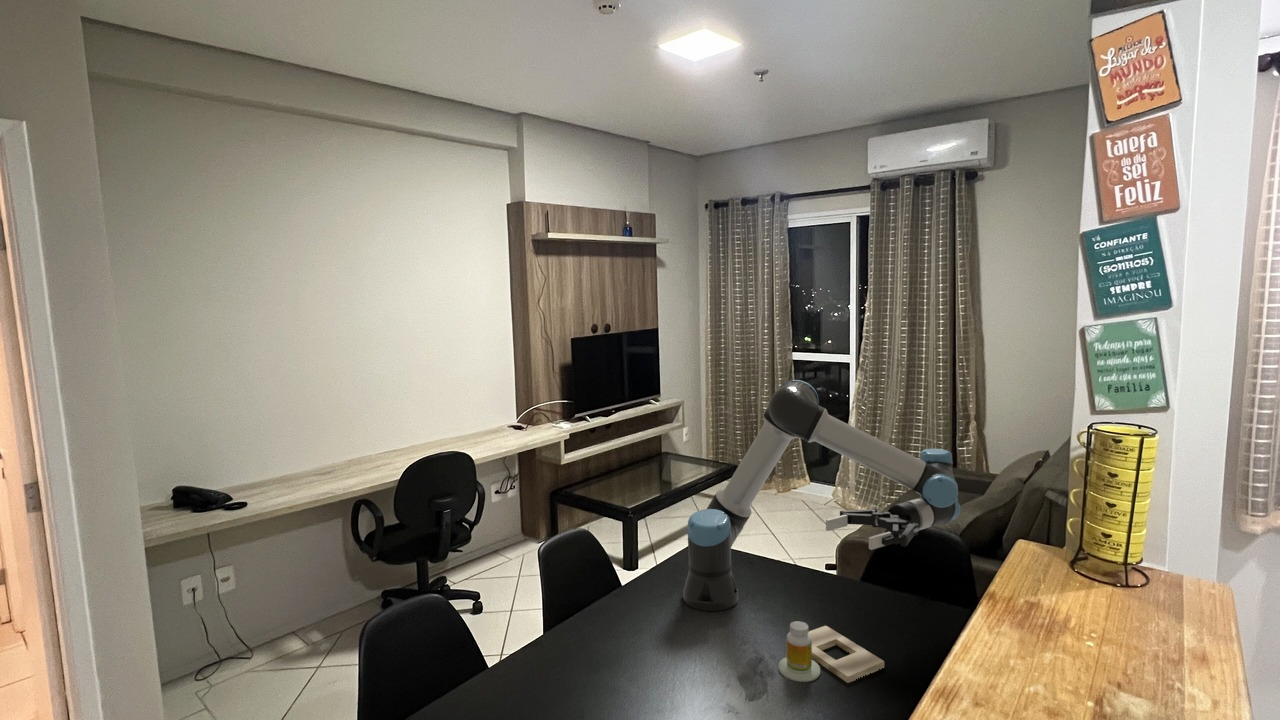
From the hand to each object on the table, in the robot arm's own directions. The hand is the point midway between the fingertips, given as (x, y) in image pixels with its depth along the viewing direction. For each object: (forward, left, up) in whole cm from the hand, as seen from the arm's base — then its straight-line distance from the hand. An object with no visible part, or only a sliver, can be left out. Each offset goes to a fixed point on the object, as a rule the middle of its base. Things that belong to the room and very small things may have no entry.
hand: (847, 534), depth 152 cm
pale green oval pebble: (+4, -19, -26) cm, 32 cm away
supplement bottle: (+4, -19, -26) cm, 32 cm away
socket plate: (+4, -8, -26) cm, 27 cm away
